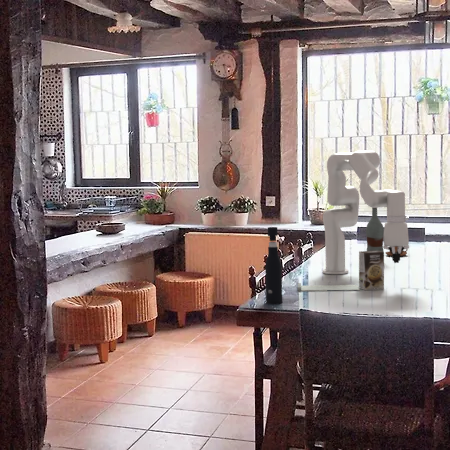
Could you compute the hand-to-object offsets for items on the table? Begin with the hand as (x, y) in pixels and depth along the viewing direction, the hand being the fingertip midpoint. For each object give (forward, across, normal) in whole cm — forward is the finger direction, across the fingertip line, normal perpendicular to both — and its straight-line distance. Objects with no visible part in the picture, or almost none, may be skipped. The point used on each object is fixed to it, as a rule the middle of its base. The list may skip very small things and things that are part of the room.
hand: (396, 262), depth 298 cm
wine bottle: (+11, +52, +27) cm, 60 cm away
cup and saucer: (+12, -15, -97) cm, 99 cm away
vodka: (+11, 0, -72) cm, 73 cm away
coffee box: (+11, +10, 0) cm, 15 cm away
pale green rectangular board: (+11, +29, 0) cm, 31 cm away
